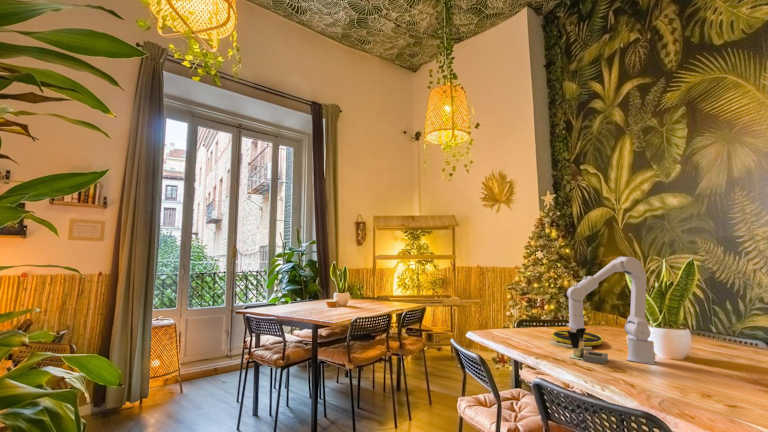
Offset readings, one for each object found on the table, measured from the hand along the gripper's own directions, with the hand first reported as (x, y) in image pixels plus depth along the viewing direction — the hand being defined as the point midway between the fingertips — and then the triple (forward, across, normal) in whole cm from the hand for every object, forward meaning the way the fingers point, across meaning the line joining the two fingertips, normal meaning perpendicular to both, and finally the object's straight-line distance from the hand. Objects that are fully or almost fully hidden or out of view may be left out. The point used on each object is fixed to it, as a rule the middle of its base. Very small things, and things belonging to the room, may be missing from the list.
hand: (577, 346), depth 169 cm
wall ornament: (+5, -28, -6) cm, 29 cm away
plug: (+4, 0, +1) cm, 4 cm away
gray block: (+5, 0, +7) cm, 8 cm away
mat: (+5, 0, 0) cm, 5 cm away
